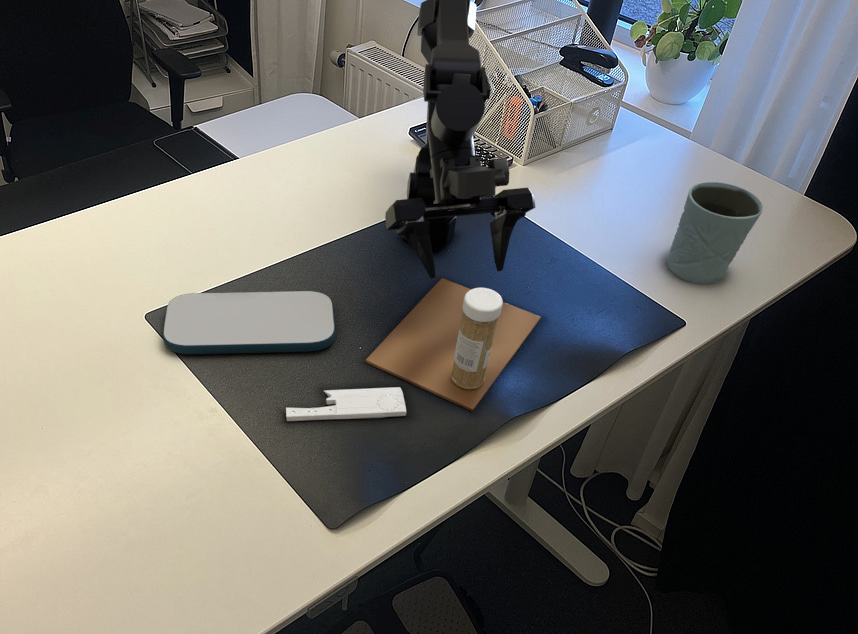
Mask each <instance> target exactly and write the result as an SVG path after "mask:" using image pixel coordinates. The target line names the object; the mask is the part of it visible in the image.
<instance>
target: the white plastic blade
mask: <svg viewBox="0 0 858 634" xmlns="http://www.w3.org/2000/svg"><path fill="white" fill-rule="evenodd" d="M323 393H325V395H326V396H327V397H326V399H325V404H326V405H328V406H320V407H308V408H307V407H285V414H286V415H285V417H286V422H299V421H301V422H302V421H321V420H323V421H324V420H350V419H352V420H353V419H368V418H376V419H381V418H387V417H388V418H389V417H406V416H407V407H406V401H405V398H404V392H403V390H402V388H401V387H400V386H395V387H394V386H393V387H373V388H350V389H349V388H348V389H347V388H346V389H327V390H323Z"/></svg>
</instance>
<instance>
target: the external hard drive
mask: <svg viewBox="0 0 858 634" xmlns="http://www.w3.org/2000/svg"><path fill="white" fill-rule="evenodd" d="M334 310H335V308H334V303H333V301H332V299H331V298H330V296H328V295H326V294H325V293H322V292H319V291H314V290H287V291H286V290H284V291H283V290H282V291H281V290H279V291H277V290H276V291H235V292H234V291H233V292H232V291H231V292H226V291H225V292H192V293H191V292H190V293H184V294H180V295H177V296H175V297H173V298H171V300H170V301H169V302H168V303H167V305H166V308H165V314H164V320H163V321H164V322H163V326H162V327H163V328H162V340H163V343H164V346H165V347H166V348H167V349H168V350H169V351H171V352H173V353H176V354H179V355H180V354H182V355H215V354H217V355H218V354H219V355H220V354H221V355H222V354H259V353H261V354H262V353H264V354H265V353H299V352H300V353H301V352H303V353H307V352H316V351H321V350H324V349H327V348H329V347H330V346H331V345H332V344H333V343H334V342H335V339H336V320H335V311H334Z"/></svg>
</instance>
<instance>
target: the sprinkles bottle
mask: <svg viewBox="0 0 858 634" xmlns="http://www.w3.org/2000/svg"><path fill="white" fill-rule="evenodd" d="M470 289H471V290H470V291H468V292H467V293H466V295H465V297H464V302H463V315H462V320H461V325H460V328H459V333H458V339H457V344H456V350H455V355H454V364H453V369H452V371H451V379H452V381H453V383H454V384H456V385H457V386H459V387H461V388H464V389H477V388H478V387H480V386H481V385H482V384H483V383H484V381H485V373H486V368H487V365H488V362H489V357H490V353H491V348H492V343H493V337H494V332H495V328H496V323H497V319H498V317H499V316H500V313H501V309H502V304H503V302H504V300H503V298H502V295H500V294H499V293H498V292H497V291H495V290H493V289H491V288H488V287H474V288H470Z"/></svg>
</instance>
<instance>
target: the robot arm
mask: <svg viewBox="0 0 858 634" xmlns="http://www.w3.org/2000/svg"><path fill="white" fill-rule="evenodd" d="M476 15H477V4H476V3H475V2H473V1H472V0H424V1H421V3H420V7H419V12H418V20H417V31H416V32H417V37H420V53H421V54H422V56H423V58H424V59H425V61H426V62H427V63H426V64H425V65H424V72H423V73H424V75H423V86H422V93H423V94H422V95H423V101H424V102H427V108H426V109H427V110H426V124H425V125H426V126H425V127H426V128H425V144H424V146H422V147H421V148H420V149H419V151H418V154H417V156H416V157H415V163H414V167H413V171H410V172H409V174H408V179H407V187H406V198H403V199H396V200H395V201H394V202H393V203H392V204H391V205H390V206H389V207H388V208H387V210H386V211H385V214H384V216H385V217H384V219H385V227H386V230H387V231H395V230H397V231H396V235H397V236H402V239H401V240H402V241H404V242H407V243H408V244H409V245H410V246H411V248H412V249H413V251H414V252H415V254H416V255H417V257H418V259H419V260H420V263H421V264H422V266H423V268H424V270H425V271H426V274H427V275H428V277H429V279H430V280H434V279H435V278H436V265H435V259H434V255H433V253H439V252H440V251H441V250H442V249H443V248H444V247H445V246H447V245H448V244H449V243H450V242H451V241H452V240H453V239H454V237H455V235H456V231H455V229H456V223H457V219H458V218H457V217H463V216H472V215H473V216H474V215H482V214H490V215H491V216H492V217H493V218H494V220H492V221H490V222H489V229H490V235H491V244H492V251H493V260H494V265H495V269H496V271H497V272H502V271H503V270H504V266H505V262H506V258H507V253H508V248H509V243H510V240H511V237H512V234H513V230H514V228H515V226H516V224H517V222H518V221H519V220H521V219H523V218H525V217H526V216H527V213H528V212H530V211H532V210H534V209H536V200H535V199H536V198H535V194H534V193H533V192H532V190H531V189H530V188H529V187H518V188H509V189H502V190H501V191H499V192H498V193H496V189H497V188H496V187H507V186H508V185H509V184H510V168H509V161H508V158H504V157H503V158H502V157H501V158H490V159H489V160H488V162H487V165H486V166H482V165H481V164H482V163H481V159H480V155H479V154H476V150H475V149H476V148H475V140H474V134H475V133H476V131H477V129H478V126H479V124H480V122H481V121H482V118H483V116H484V114H485V110H486V102H487V100H490V97H491V92H492V89H491V83H490V77H489V75H487V72H486V67H485V66H482V59H481V54H480V51H479V50H478V49H477V48H475V47H474V46H472V45H470V39H471V38H472V37H473V35H474V33H475V27H476V17H477V16H476ZM481 197H482V198H481ZM483 197H486V198H483ZM487 197H488V198H487ZM471 206H472V207H471Z"/></svg>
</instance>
